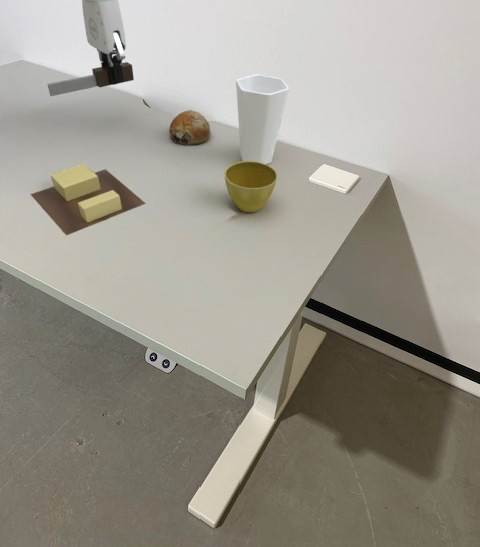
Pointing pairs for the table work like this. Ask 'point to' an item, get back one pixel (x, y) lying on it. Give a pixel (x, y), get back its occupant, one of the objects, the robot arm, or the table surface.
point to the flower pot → (250, 184)
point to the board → (68, 211)
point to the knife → (89, 80)
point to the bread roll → (189, 128)
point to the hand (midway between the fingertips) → (113, 80)
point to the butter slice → (100, 206)
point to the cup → (260, 115)
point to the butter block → (75, 182)
